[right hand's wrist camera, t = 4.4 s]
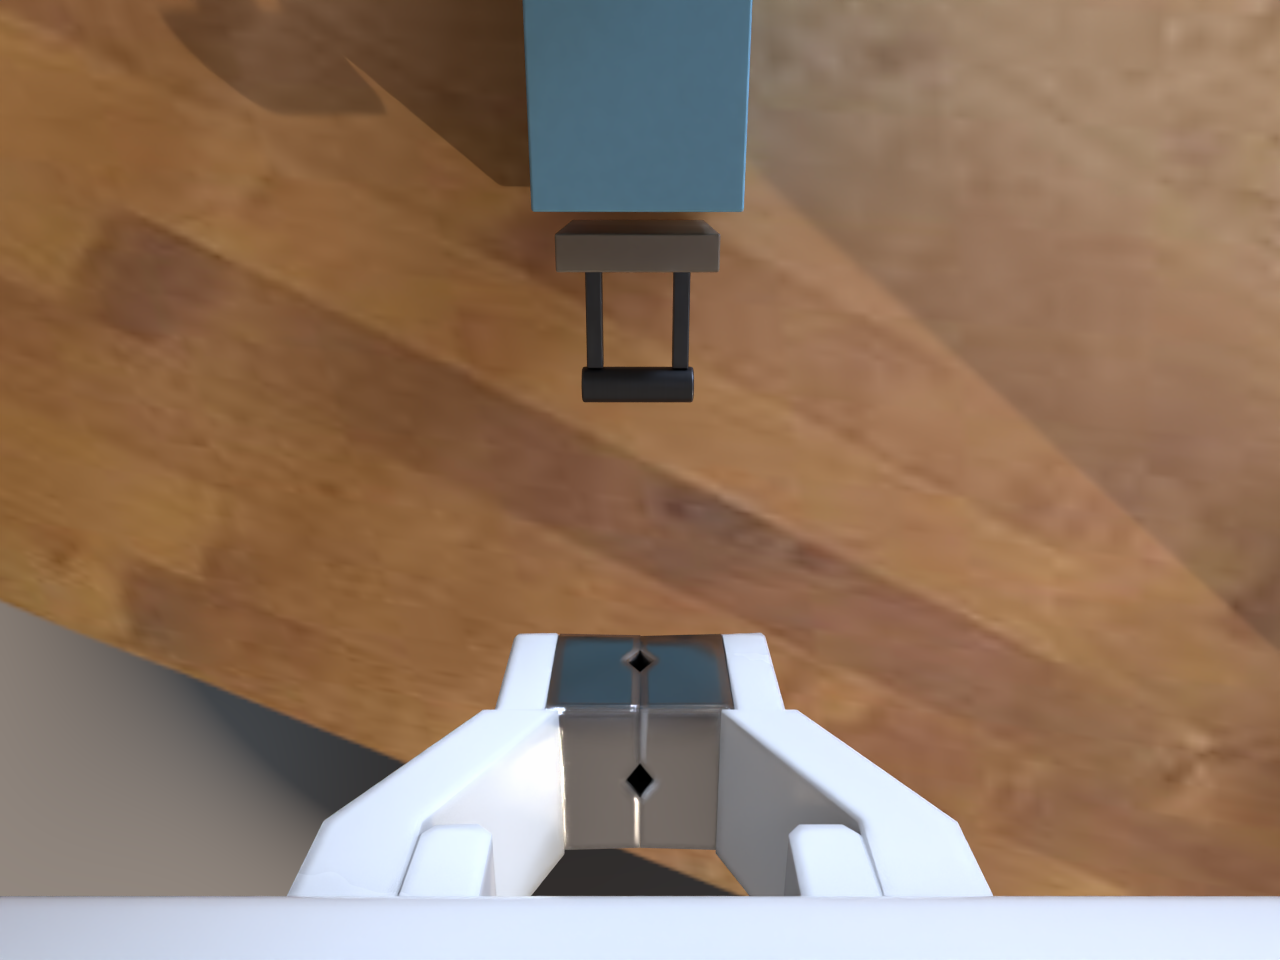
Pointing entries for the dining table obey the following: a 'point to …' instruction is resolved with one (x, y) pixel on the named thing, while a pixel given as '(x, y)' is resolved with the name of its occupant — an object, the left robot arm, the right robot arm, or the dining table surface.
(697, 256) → the drawer
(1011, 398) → the dining table surface
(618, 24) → the light blue box block
